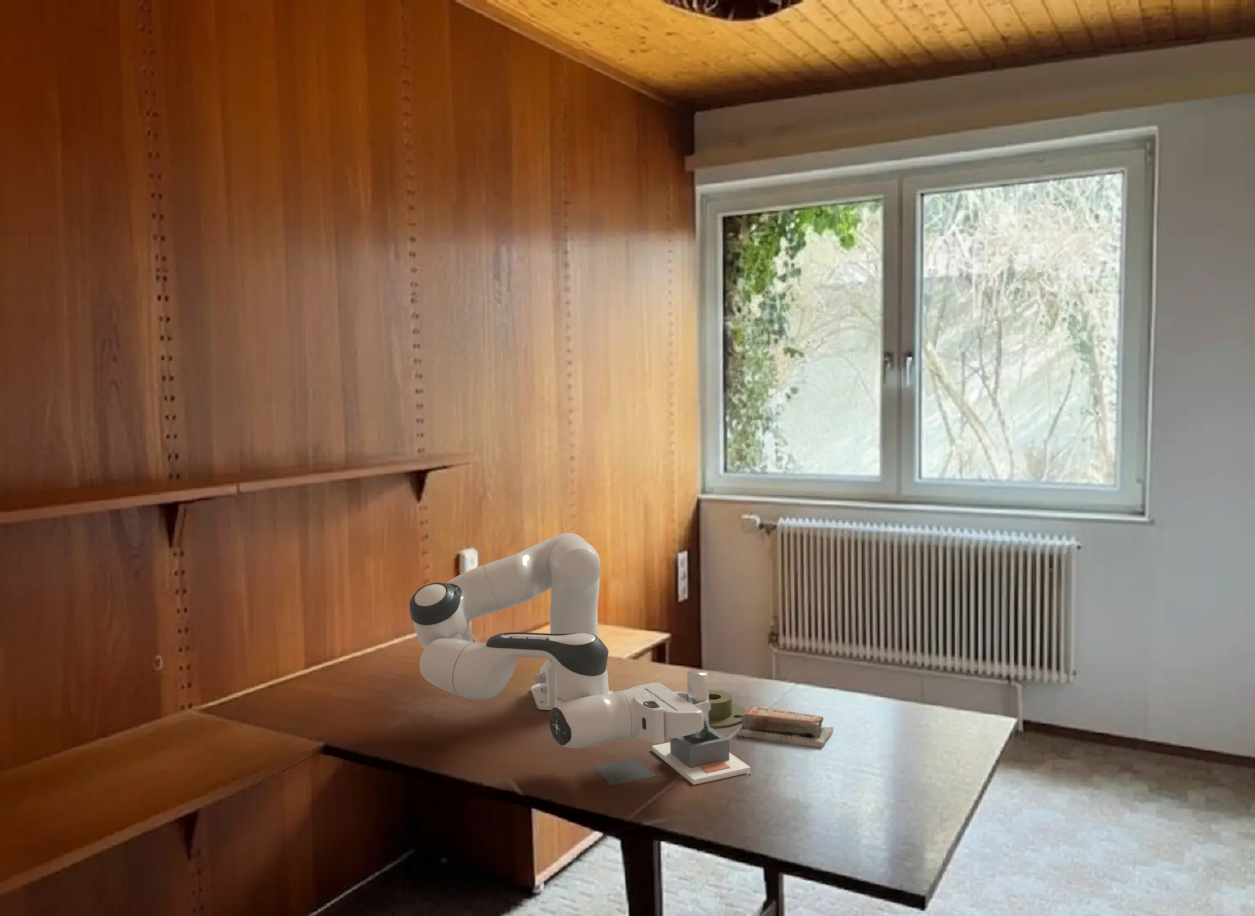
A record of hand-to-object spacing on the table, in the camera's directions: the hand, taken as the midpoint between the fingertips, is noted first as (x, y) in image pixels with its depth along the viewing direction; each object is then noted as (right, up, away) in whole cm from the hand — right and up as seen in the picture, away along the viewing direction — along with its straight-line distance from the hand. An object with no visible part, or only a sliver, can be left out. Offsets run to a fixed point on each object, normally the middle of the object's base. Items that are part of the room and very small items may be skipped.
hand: (702, 700), depth 181 cm
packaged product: (+19, -11, +15) cm, 27 cm away
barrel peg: (-1, -6, 0) cm, 6 cm away
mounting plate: (0, -12, +1) cm, 12 cm away
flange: (+5, -11, +27) cm, 29 cm away
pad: (-15, -13, -3) cm, 20 cm away
